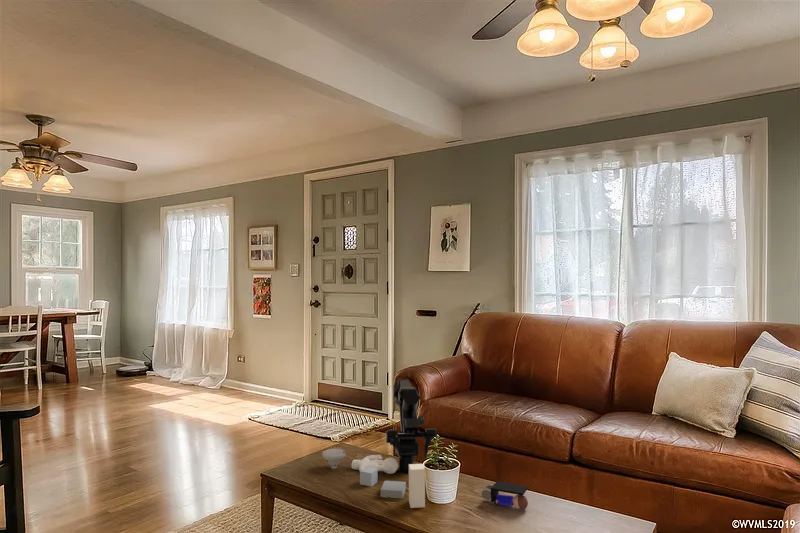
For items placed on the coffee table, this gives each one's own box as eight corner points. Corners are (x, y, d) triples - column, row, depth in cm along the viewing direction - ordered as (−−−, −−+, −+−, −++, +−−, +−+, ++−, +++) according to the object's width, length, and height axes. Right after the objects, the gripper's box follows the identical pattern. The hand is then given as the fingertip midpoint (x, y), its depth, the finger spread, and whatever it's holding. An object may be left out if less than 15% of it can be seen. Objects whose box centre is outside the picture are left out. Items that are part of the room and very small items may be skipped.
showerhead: (343, 454, 201) (319, 453, 203) (343, 472, 201) (319, 471, 203) (349, 446, 211) (326, 445, 212) (349, 464, 211) (326, 462, 212)
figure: (402, 463, 206) (358, 462, 212) (400, 450, 205) (355, 449, 210) (395, 482, 196) (349, 480, 202) (393, 468, 194) (346, 467, 200)
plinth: (384, 488, 187) (384, 480, 187) (405, 490, 186) (405, 481, 186) (380, 498, 179) (380, 489, 179) (402, 499, 178) (402, 491, 178)
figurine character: (482, 509, 172) (525, 514, 165) (479, 486, 173) (522, 490, 166) (489, 501, 178) (531, 506, 171) (486, 479, 179) (528, 483, 171)
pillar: (408, 501, 176) (408, 464, 176) (422, 500, 176) (422, 463, 176) (410, 507, 171) (410, 469, 171) (424, 507, 171) (424, 469, 171)
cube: (366, 479, 195) (366, 466, 195) (377, 481, 193) (377, 468, 193) (359, 484, 190) (359, 471, 190) (371, 486, 188) (371, 473, 188)
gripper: (386, 408, 186) (388, 449, 175) (436, 407, 188) (441, 447, 177) (385, 422, 194) (387, 462, 183) (432, 421, 196) (437, 460, 185)
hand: (413, 457), depth 182 cm, fingers open, 9 cm apart
